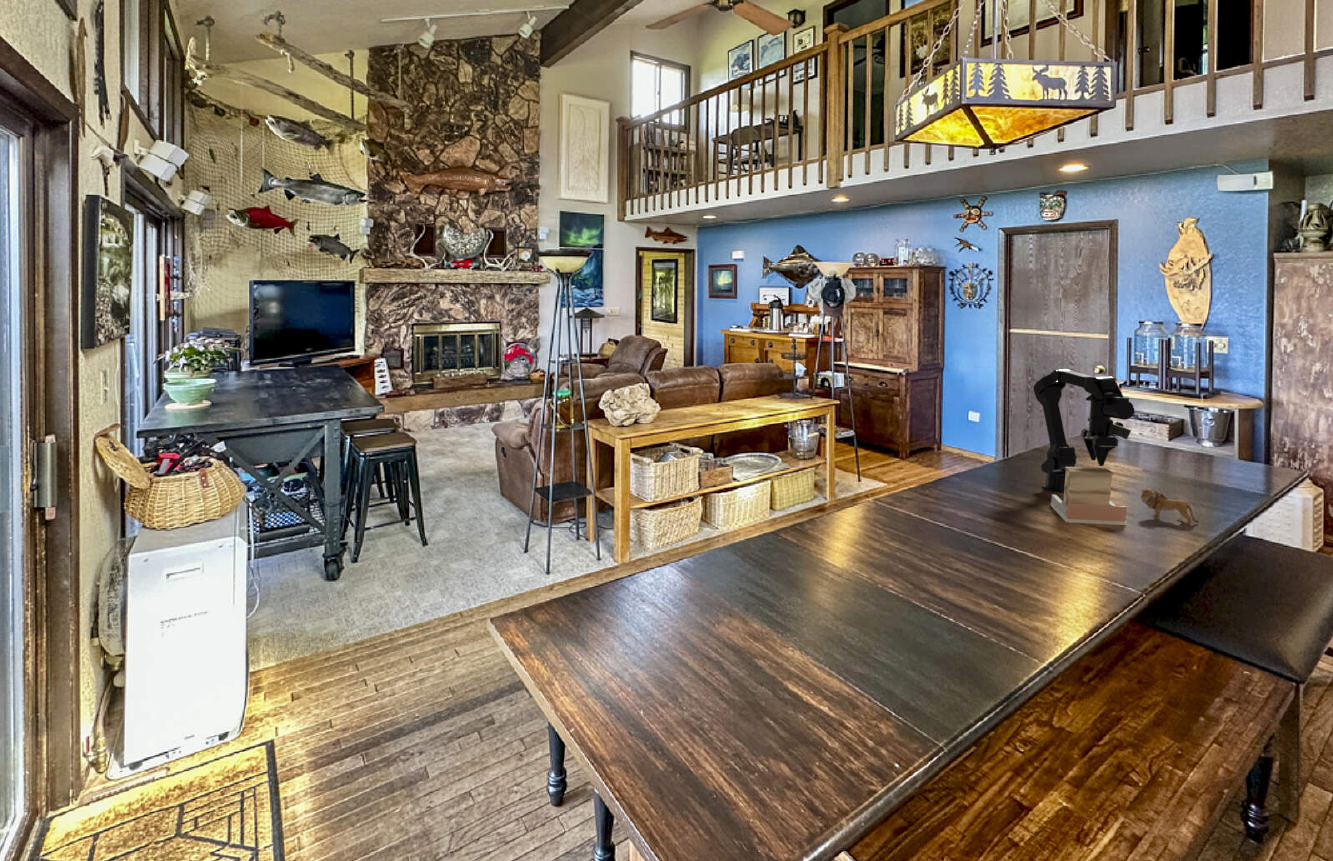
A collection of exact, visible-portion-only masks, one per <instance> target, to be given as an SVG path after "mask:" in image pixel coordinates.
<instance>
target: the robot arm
mask: <svg viewBox="0 0 1333 861" xmlns="http://www.w3.org/2000/svg"><path fill="white" fill-rule="evenodd" d="M1067 384H1069V385H1072V386H1076V387H1078V388H1079V387H1080V388H1082V389H1084V391H1085V392H1086V393H1088V394H1089V396H1086V398H1085V401H1089V402H1090V406H1089V407H1090V408H1089V417H1087V421H1088V422H1089V424H1088V428H1087V427H1086V428H1085V427H1084V428H1082V429H1081V432H1080V436H1081V439H1082V441H1083V444H1084V446H1085V448H1086V451H1087V453H1088V455H1089V457H1090V460H1091V461H1096V462H1097V464H1098V466H1099V467H1104V465H1105V462H1106V460H1107V457H1108V455H1109V453H1110V451H1111V450H1113V449H1116V447H1118V445H1119V439H1118V438H1117V437H1121V438H1122V439H1124V440H1128V439H1129V436H1130V434H1131V433H1132V432H1131V431H1132V429H1129V428H1127V427H1125V426H1124V424H1123V423H1122V422H1119V421H1116V422H1114V419H1118V420H1123V421H1124V420H1125V421H1126V420H1129V419H1131V418H1132V416H1134V414H1135V407H1134V404H1133V403H1132V402H1131V401H1130V398H1129V397H1125V396H1124V395H1123V392H1122V391H1121V389H1120V387H1119V385H1118V383H1117V382H1116V378H1115V377H1113V376H1105V375H1104V376H1103V375H1102V376H1100V375H1099V376H1098V375H1097V376H1095V375H1093V376H1092V375H1089V374H1084V373H1081V372H1078V371H1073V370H1071V369H1068V368H1063V369H1062V368H1059V369H1054V370H1053V371H1051V372H1050V373H1049V374H1047V375H1046V376H1044V377H1041V378H1040V379H1039V380H1037V381H1036V382H1035V384H1034V386H1033V392H1034V396H1035V399H1036V400H1037V402H1039V404H1041V406H1042V409H1043V413H1044V414H1043V415H1044V419H1045V425H1046V429H1047V434H1048V441H1049V444H1050V445H1049V448H1048V451H1047V453H1046V458H1047V459H1046V460H1045V461H1044V462H1043V463H1041V465H1040V468H1041V472H1043V473H1046V476H1045V477H1046V478H1045V484H1044V485H1043V484H1042V485H1041V487H1042V488H1043V489H1046V490H1049V491H1052V492H1062V491H1063V492H1064V485H1065V475H1066V470H1065V467H1076V464H1077V455H1076V449H1075V447H1074V446H1070V445H1069V444H1068V443H1067V441H1066V440H1067V439H1066V433H1065V430H1064V425H1063V420H1062V414H1061V409H1060V404H1059V403H1060V401H1061V398H1062V395H1063V393H1062V392H1063V389H1065V388H1066V386H1067ZM1111 418H1113V419H1111ZM1114 435H1115V436H1117V437H1115V436H1114Z"/></svg>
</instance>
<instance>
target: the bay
mask: <svg viewBox="0 0 1333 861" xmlns="http://www.w3.org/2000/svg"><path fill="white" fill-rule="evenodd" d="M1050 506H1051V507H1052V508H1053V510H1054V511H1055V512H1056V513H1057V514H1058V515H1059V516H1060V517H1061V518H1062V519H1063V520H1064V522H1065V523H1070V524H1071V523H1072V524H1074V523H1075V524H1076V523H1077V524H1094V525H1095V524H1097V525H1113V526H1115V525H1116V526H1127V524H1128V523H1127V521H1126V518H1127V505H1116V504H1115V503H1114V502H1112V501H1111V500H1110V502H1109V505H1085V504H1067V505H1066V504H1065V503H1064V500H1062V499H1061V498H1060V497H1059V496H1058V495H1057V494H1051V502H1050Z"/></svg>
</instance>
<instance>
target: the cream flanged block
mask: <svg viewBox="0 0 1333 861" xmlns="http://www.w3.org/2000/svg"><path fill="white" fill-rule="evenodd" d="M1065 470H1066V475H1065V485H1064V491H1063V502H1064V503H1065V504H1066V505H1067V504H1085V505H1109V502H1110V501H1111V500H1110V499H1111V495H1112V494H1111V493H1112V491H1111V489H1112V479H1113V478H1112V477H1113V476H1114V472H1113V471H1111V470H1110V469H1108V468H1106V467H1092V466H1091V467H1088V466H1087V467H1086V466H1085V467H1084V466H1074V467H1065Z"/></svg>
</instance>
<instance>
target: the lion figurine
mask: <svg viewBox="0 0 1333 861" xmlns="http://www.w3.org/2000/svg"><path fill="white" fill-rule="evenodd" d="M1140 499H1141V502H1142V503H1144V504H1145V505H1147V507H1148V508H1149V509H1151V510H1154V514H1153V515H1152V517H1153V518H1152V519H1153V520H1159V519H1160V515H1161V514H1160V513H1161V512H1162V511H1165V512H1175V511H1178V513H1179V514H1180V516H1181V517H1180V518H1177V521H1180V522H1182V521H1183V520H1185V519H1186V520H1187V521H1185V525H1188V526H1189V525H1191V524H1192V521H1193V522H1194V523H1197V524H1199V523H1200V522H1199V521H1198V520H1197V519H1195V516H1194V513H1193V509H1192V506H1191V504H1190V503H1188V502H1187V501H1185V500H1183V499H1169V498H1167V497H1166V496H1165V495H1164V494H1163V493H1160V492H1158V491H1157V490H1155V489H1153V488H1145V489H1143V490H1141V495H1140ZM1188 511H1189V513H1188ZM1189 514H1190V515H1189Z"/></svg>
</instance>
